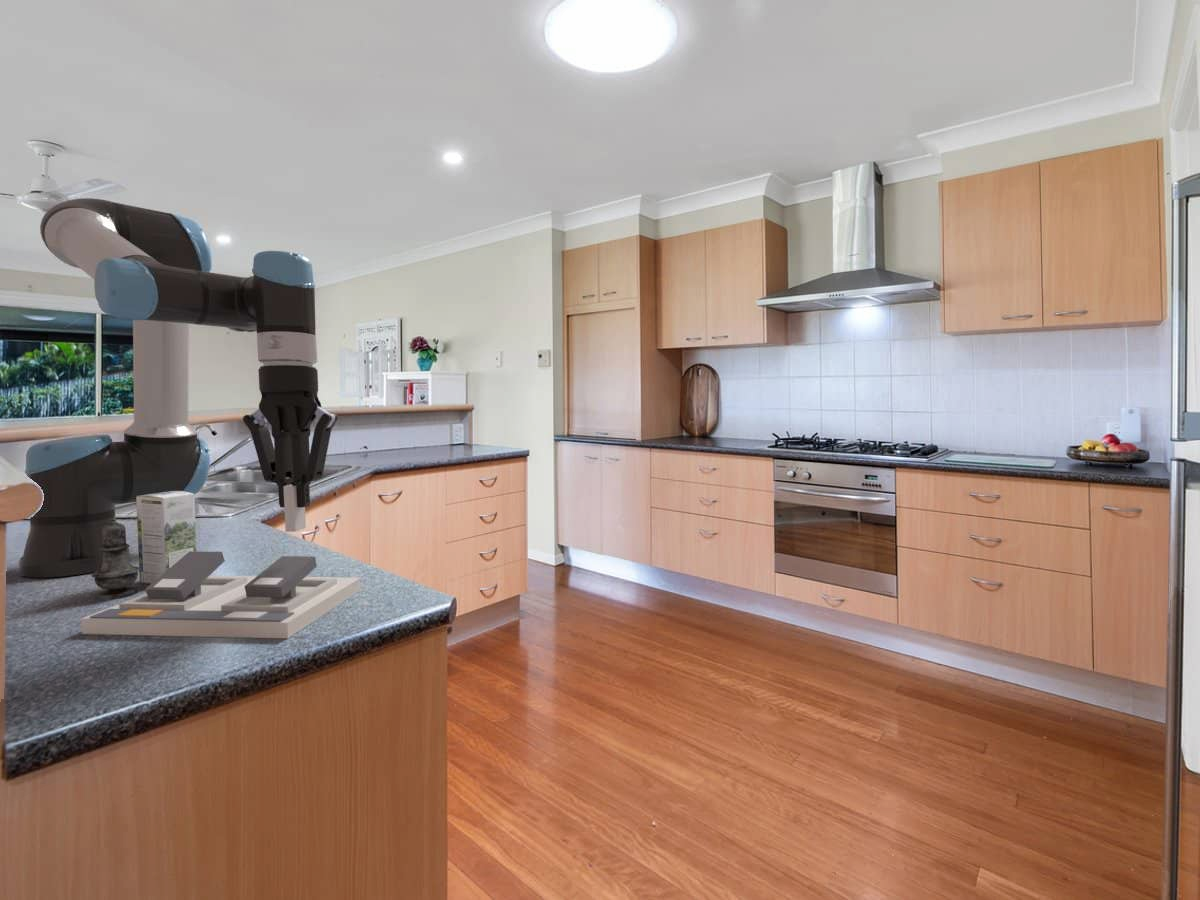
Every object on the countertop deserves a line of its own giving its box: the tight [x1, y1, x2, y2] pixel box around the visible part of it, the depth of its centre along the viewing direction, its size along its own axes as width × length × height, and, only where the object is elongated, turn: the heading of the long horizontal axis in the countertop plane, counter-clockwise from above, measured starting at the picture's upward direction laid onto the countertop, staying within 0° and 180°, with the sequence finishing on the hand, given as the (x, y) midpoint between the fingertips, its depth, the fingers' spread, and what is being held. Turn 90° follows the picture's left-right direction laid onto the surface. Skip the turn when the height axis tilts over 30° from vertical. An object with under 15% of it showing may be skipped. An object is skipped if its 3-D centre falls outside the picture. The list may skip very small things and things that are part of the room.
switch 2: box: [245, 555, 317, 598], centre depth 86 cm, size 9×5×2 cm, turn 176°
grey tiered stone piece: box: [91, 517, 140, 601], centre depth 94 cm, size 6×6×12 cm
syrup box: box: [135, 491, 197, 585], centre depth 102 cm, size 6×6×14 cm
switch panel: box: [81, 575, 362, 639], centre depth 87 cm, size 20×27×4 cm
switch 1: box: [144, 551, 226, 600], centre depth 87 cm, size 9×5×2 cm, turn 176°
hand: (295, 529), depth 89 cm, fingers closed
